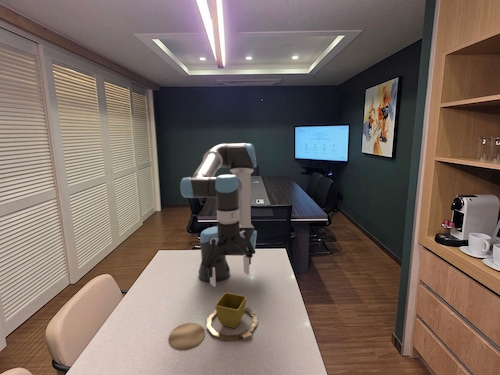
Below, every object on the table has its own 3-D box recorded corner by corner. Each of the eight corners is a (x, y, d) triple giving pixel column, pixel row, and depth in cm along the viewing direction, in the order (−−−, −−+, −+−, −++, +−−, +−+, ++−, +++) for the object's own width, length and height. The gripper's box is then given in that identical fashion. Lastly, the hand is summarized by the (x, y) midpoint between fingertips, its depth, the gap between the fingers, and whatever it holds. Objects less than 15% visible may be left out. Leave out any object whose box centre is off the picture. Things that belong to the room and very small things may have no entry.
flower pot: (247, 317, 105) (246, 296, 104) (238, 333, 97) (238, 310, 96) (225, 313, 108) (224, 292, 106) (215, 328, 100) (214, 305, 98)
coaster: (164, 333, 98) (164, 331, 98) (196, 320, 105) (196, 318, 105) (176, 355, 88) (175, 353, 88) (210, 339, 95) (210, 337, 95)
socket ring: (197, 316, 106) (197, 313, 106) (238, 300, 116) (237, 297, 116) (224, 352, 89) (224, 347, 89) (269, 329, 99) (269, 325, 99)
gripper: (198, 231, 85) (202, 295, 89) (264, 216, 99) (265, 272, 103) (189, 225, 91) (192, 285, 95) (252, 212, 105) (253, 265, 109)
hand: (230, 279), depth 99 cm, fingers open, 13 cm apart
